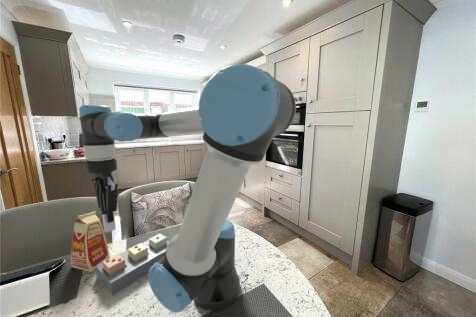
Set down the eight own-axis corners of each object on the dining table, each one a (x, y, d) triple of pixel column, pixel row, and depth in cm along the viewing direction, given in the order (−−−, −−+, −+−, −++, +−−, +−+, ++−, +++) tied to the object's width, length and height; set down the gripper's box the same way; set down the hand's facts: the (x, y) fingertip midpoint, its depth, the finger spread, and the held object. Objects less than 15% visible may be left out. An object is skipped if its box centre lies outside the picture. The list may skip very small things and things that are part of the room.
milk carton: (91, 271, 69) (83, 219, 66) (70, 267, 71) (61, 217, 67) (112, 255, 78) (106, 208, 74) (93, 251, 80) (86, 206, 76)
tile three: (125, 267, 66) (124, 259, 65) (109, 276, 62) (108, 267, 61) (119, 261, 68) (118, 253, 68) (103, 269, 65) (102, 261, 64)
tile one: (167, 244, 78) (166, 236, 78) (156, 250, 75) (155, 242, 74) (160, 239, 81) (159, 232, 81) (149, 245, 77) (148, 238, 77)
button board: (175, 255, 78) (174, 245, 77) (112, 295, 60) (110, 283, 59) (158, 244, 85) (157, 235, 84) (97, 277, 66) (95, 266, 66)
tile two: (148, 254, 72) (147, 246, 71) (135, 262, 68) (134, 253, 68) (141, 249, 75) (140, 242, 74) (128, 256, 71) (127, 248, 70)
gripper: (124, 159, 58) (131, 231, 62) (106, 154, 65) (113, 219, 69) (95, 163, 52) (105, 243, 56) (78, 157, 59) (88, 228, 63)
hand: (110, 230), depth 63 cm, fingers closed
